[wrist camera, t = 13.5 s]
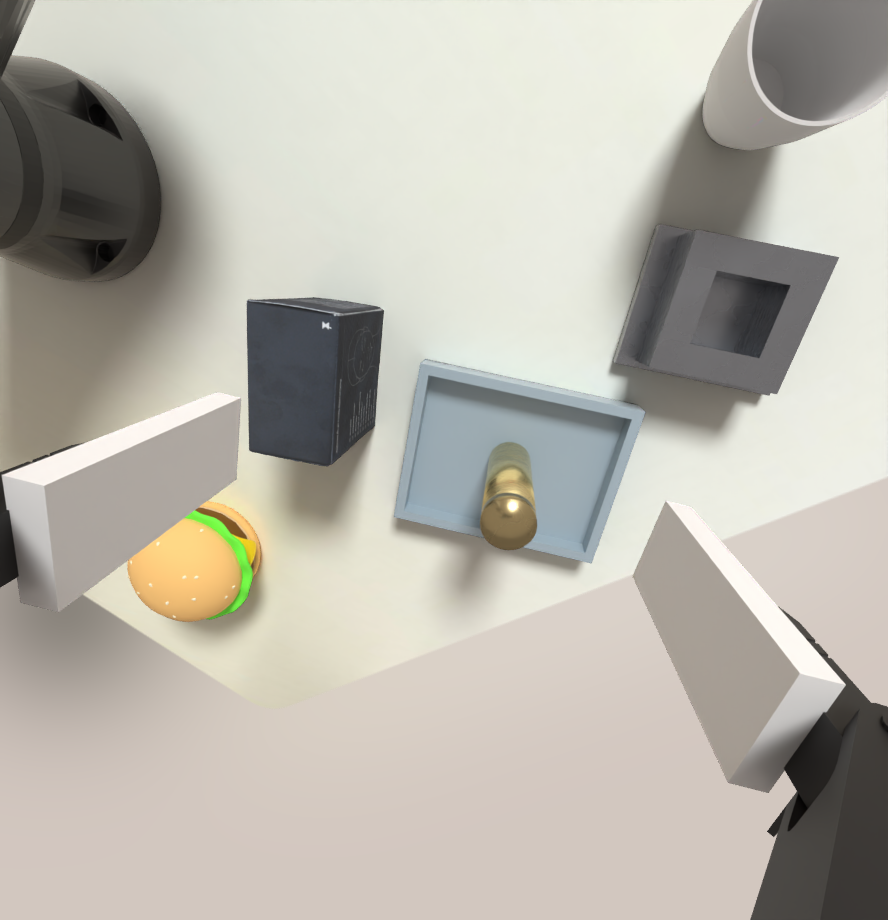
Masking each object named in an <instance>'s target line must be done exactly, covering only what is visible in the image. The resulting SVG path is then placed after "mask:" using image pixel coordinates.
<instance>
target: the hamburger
mask: <svg viewBox="0 0 888 920" xmlns="http://www.w3.org/2000/svg"><path fill="white" fill-rule="evenodd" d="M260 558H261V552H260V544H259V540H258V538H257V535H256V533H255V531H254V530H253V528H252V526H251V525H250V524H249V523H248V521H247V520H246V519H245V518H244V517H243V516H241V515H240V514H239V513H238V512H236V511H235V510H233V509H231V508H229V507H227V506H225V505H222V504H219V503H214V502H205V503H204V504H202V505H201V506H200V507H198V508H197V509H196V510H194V511H193V512H192V513H190V514H189V515H188V516H186V517H185V518H184V519H182V520H181V521H180V522H178V523H177V524H176V525H174V526H173V527H172V528H170V529H169V530H168V531H166V532H165V533H164V534H162V535H161V536H160V537H158V538H157V539H156V540H154V541H153V542H152V543H150V544H149V545H148V546H146V547H145V548H144V549H142V550H141V551H140V552H138V553H137V554H136V555H134V556H133V557H132V558H130V559H129V560H128V575H129V576H128V578H129V579H130V581H131V584H132V586H133V588H134V590H135V592H136V594H137V595H138V597H139V598H140V599H141V600H142V602H143V603H144V604H145V605H146V606H148V607H149V608H150V609H151V610H153V611H155V612H156V613H158V614H161V615H163V616H165V617H167V618H170V619H173V620H178V621H183V622H192V621H199V620H202V619H209V620H210V619H214V618H217V617H220V616H223V615H226V614H229V613H232V612H234V611H235V610H237V609H238V608H239V607H240V606H241V605H242V604H243V603H244V601H245V600H246V598H247V597H248V594H249V589H250V586H251V583H252V578H253V577H254V575H255V574H256V572H257V570H258V567H259V564H260Z"/></svg>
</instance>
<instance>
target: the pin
mask: <svg viewBox="0 0 888 920" xmlns="http://www.w3.org/2000/svg"><path fill="white" fill-rule="evenodd" d="M480 529H481V532H482V535H483V536H484V538H485V539H486V540H487V541H488V542H489V543H490V544H491V545H493V546H495V547H497V548H500V549H504V550H515V549H519V548H522V547H524V546H525V545H527V544H528V543H529V542H530V541H531V540H532V539H533V538H534V536H535V534H536V531H537V517H536V508H535V498H534V489H533V480H532V471H531V462H530V456H529V454H528V452H527V450H526V449H525V448H524V447H523V446H521V445H520V444H517V443H514V442H505V443H502V444H500V445H498V446H496V447H495V448H494V449H493V450H492V452H491V454H490V456H489V462H488V469H487V476H486V483H485V490H484V497H483V504H482V511H481V518H480Z"/></svg>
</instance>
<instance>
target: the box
mask: <svg viewBox="0 0 888 920" xmlns="http://www.w3.org/2000/svg"><path fill="white" fill-rule="evenodd" d="M383 314H384V310H383V309H381V308H380V307H377V306H371V305H366V304H360V303H353V302H348V301H339V300H332V299H322V298H314V297H313V298H297V299H267V300H265V299H263V300H247V349H248V403H249V406H248V407H249V450H250V451H251V452H255V453H260V454H264V455H270V456H275V457H279V458H284V459H290V460H294V461H302V462H305V463H309V464H314V465H319V466H329V465H331V464H333V463H334V462H335V461H336V460H337V459H338V458H340V457H341V456H342V455H343V454H344V453H345V452H346V451H347V450H348V449H349V448H350V447H351V446H353V445H354V444H355V443H356V442H357V441H358V440H359V439H360V438H361V437H362V436H364V435H365V434H366V433H367V432H368V431H370V430H371V429H372V428H373V427H374V426H375V415H376V399H377V385H378V372H379V363H380V349H381V338H382V325H383Z"/></svg>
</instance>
